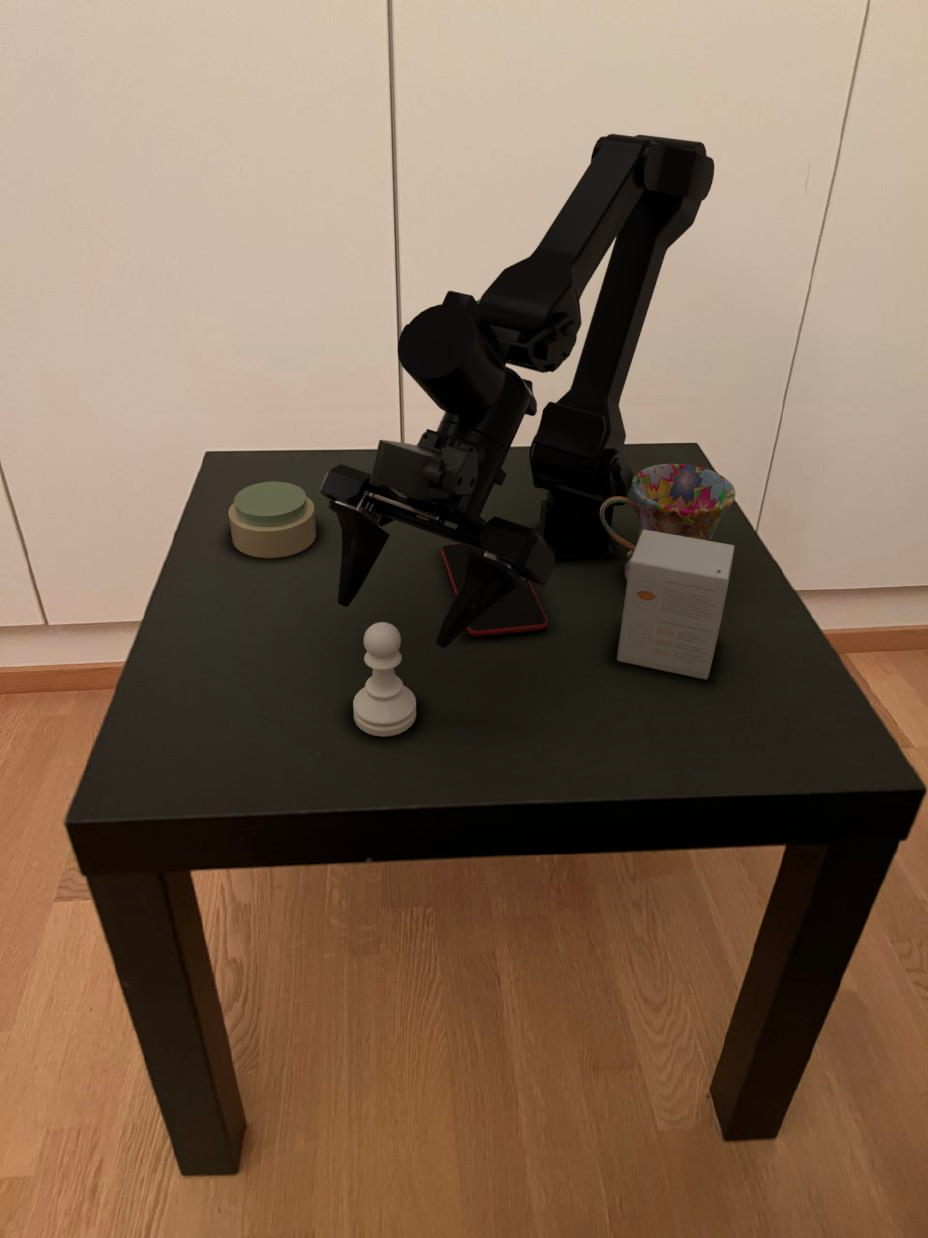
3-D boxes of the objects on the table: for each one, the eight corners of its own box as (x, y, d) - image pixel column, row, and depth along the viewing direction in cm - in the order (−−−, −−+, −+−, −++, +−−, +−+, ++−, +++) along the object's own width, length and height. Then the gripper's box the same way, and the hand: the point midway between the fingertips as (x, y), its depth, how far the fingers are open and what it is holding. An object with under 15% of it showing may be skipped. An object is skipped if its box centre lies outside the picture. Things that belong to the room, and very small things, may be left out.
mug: (704, 558, 96) (723, 463, 90) (724, 611, 89) (746, 512, 83) (587, 556, 96) (597, 461, 90) (596, 608, 89) (609, 509, 83)
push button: (316, 514, 102) (313, 476, 100) (316, 556, 95) (312, 517, 93) (235, 517, 101) (230, 479, 99) (228, 560, 94) (223, 521, 92)
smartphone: (469, 633, 84) (439, 544, 96) (469, 641, 84) (439, 552, 96) (550, 624, 85) (510, 538, 97) (549, 632, 86) (510, 545, 97)
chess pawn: (349, 701, 77) (343, 611, 72) (409, 692, 79) (408, 603, 73) (358, 742, 74) (353, 650, 68) (422, 732, 75) (421, 641, 69)
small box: (715, 645, 85) (738, 544, 78) (707, 682, 80) (730, 579, 74) (627, 626, 87) (641, 526, 81) (614, 662, 82) (629, 559, 76)
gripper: (326, 363, 70) (237, 555, 69) (548, 426, 62) (451, 645, 60) (392, 427, 80) (315, 595, 79) (591, 488, 72) (508, 677, 70)
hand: (389, 625), depth 72 cm, fingers open, 9 cm apart
